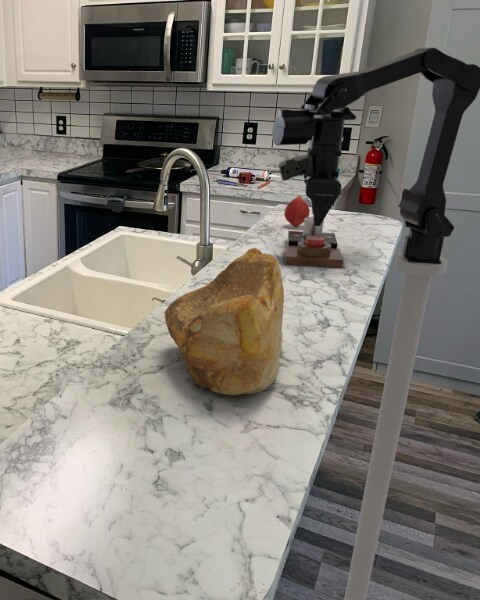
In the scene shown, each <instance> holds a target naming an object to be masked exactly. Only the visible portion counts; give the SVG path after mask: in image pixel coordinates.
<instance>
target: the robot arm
mask: <svg viewBox="0 0 480 600" xmlns="http://www.w3.org/2000/svg"><path fill="white" fill-rule="evenodd" d="M418 74H420V75H422V77H423V78H424V79H425V80H427V81H428V82H430V83H432V92H431V98H432V102H433V105H434V115H433V118H432V123H431V126H430V130H429V134H428V136H427V137H428V138H427V140H426V146H425V149H424V153H423V156H422V160H421V163H420V166H419V167H420V168H419V172H418V175H417V179H416V182H415V183H414V184H413V185H412V186H411V188H410V189H409V188H403V189H402V191H401V199H400V202H399V203H398V205H397V207H398V208H399V215H400V216H401V218H402V219H403V221H404V225H405V227H406V228H407V229H409V230H408V235H405V237H404V242H403V247H402V252H401V253H403V255H404V256H405V258H406V260H407V261H408V262H416V263H431V264H441V263H442V261H441V260H440V256H441V257H442V255H441V254H442V250H443V245H444V241H445V237H446V238H447V237H451V235H452V233H453V231H454V230H455V226H454V225H453V223H452V222H451V221H450V219H449V218H448V217H447V216H446V207H447V197H446V193H445V189H444V184H445V180H446V176H447V172H448V169H449V165H450V162H451V159H452V155H453V151H454V148H455V144H456V140H457V136H458V134H459V131H460V127H461V123H462V120H463V116H464V113H465V112H466V111H467V110H468V108H469V107H470V106H472V104H473V103H474V102H475V100H476V99H477V96H478V94H479V92H480V66H478V65H477V64H473V63H466V62H464V61H462V60H460V59H457V58H455V57H452V56H450V55H448V54H446V53H444V52H442V51H441V50H439V49H438V48H437V47H418V48H416V49H415V50H413V51H411V52H409V53H406V54H403V55H400V56H397V57H395V58H391V59H389V60H386V61H383V62H381V63H378V64H375V65H372V66H370V67H367V68H364V69H362V70H358V71H352V72H345V73H337V74H336V73H335V74H331V75H325V76H322V77H321V78H318V79H317V81H316V82H315V83H314V85H313V88H312V92H310V94H309V95H308V97H307V98H306V100H305V101H304V102H303V103H302V105H301V106H300V107H299V109H287V108H279V110H278V115H277V116H276V118H275V120H274V122H273V125H272V129H271V136H272V137H271V138H272V141H273V143H274V145H275V146H298V145H300V146H301V145H307V144H308V143H309V141H310V145H309V147H308V148H307V151H306V154H303V155H300V156H296V157H292V158H290V159H285V160H284V161H283V160H282V161H281V162H279V163H278V169H279V173H280V176H281V180H282V181H288V180H290V179H292V178H296V177H298V176H301V175H303V182H304V184H305V196H306V197H307V198H308V199H309V200H311V201H310V202H311V213H312V215H313V217H314V225H315V226H320V225H321V223H322V222H323V220H324V221H325V218H326V217H327V215H328V214H329V212H330V210H331V209H332V207H333V206H334V204H335V202H336V201H337V199H339V197H340V195H341V194H342V193H341V192H342V183H341V181H340V180H339V179H338V178H339V166H340V165H339V164H340V157H341V156H342V142H343V134H344V128H345V127H344V126H345V121H355V120H356V119H357V116H356V115H355V114H354V113H353V112H352V111H351V109H350V107H349V105H351V104H353V103H355V102H357V101H358V100H360V99H361V98H362V97H363V96H364V95H365V94H367V93H370V92H371V91H373V90H376V89H379V88H381V87H384V86H388V85H390V84H393V83H395V82H398V81H401V80H403V79H406V78H409V77H413V76H415V75H418Z"/></svg>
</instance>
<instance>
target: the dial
mask: <svg viewBox="0 0 480 600" xmlns="http://www.w3.org/2000/svg"><path fill="white" fill-rule="evenodd" d="M324 221H325V219H324V220H323V222H322V223H321V225H320V226H315V225H314V216H309V217H307V218H305V220H304V223H303V229H302V232H303V237H305V238H306V237H307V236H321V237H322V233H323V231H324V230H323V229H324Z"/></svg>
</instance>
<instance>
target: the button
mask: <svg viewBox="0 0 480 600" xmlns="http://www.w3.org/2000/svg"><path fill="white" fill-rule="evenodd" d="M305 245H306V246H310V247H323V246H324V238H323V237H321V236H307V237H306V242H305Z"/></svg>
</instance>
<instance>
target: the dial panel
mask: <svg viewBox="0 0 480 600" xmlns="http://www.w3.org/2000/svg"><path fill="white" fill-rule="evenodd" d="M322 237H323V238H324V241H325V242H327V243H330V244H331V248H338V240H337V237H336V233H334V232H322ZM302 240H306V238H305V237H303V231H300V230H298V231H296V230H288V231H287V238H286V242H287V243H286V245H290V246H298V242H299V241H302Z"/></svg>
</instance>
